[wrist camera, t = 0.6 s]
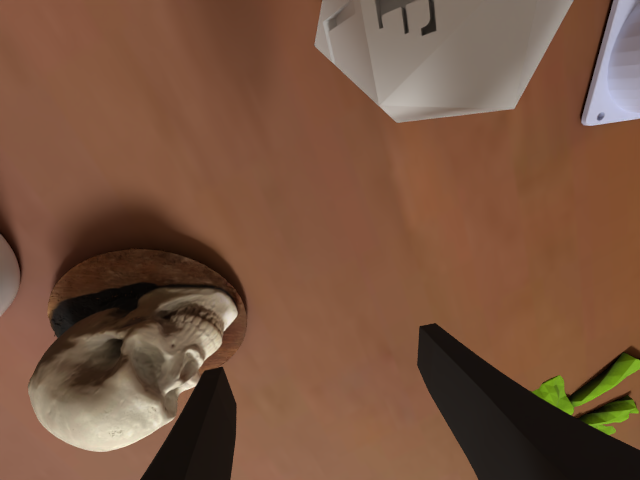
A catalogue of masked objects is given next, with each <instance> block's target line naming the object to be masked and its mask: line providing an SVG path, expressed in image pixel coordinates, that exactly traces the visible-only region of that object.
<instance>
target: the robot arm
mask: <svg viewBox="0 0 640 480" xmlns="http://www.w3.org/2000/svg"><path fill="white" fill-rule="evenodd" d="M597 116H598V117H597ZM633 119H640V0H613V4H612V7H611V11H610V15H609V18H608V22H607V26H606V30H605V33H604V37H603V41H602V44H601V48H600V52H599V56H598V59H597V63H596V67H595V70H594V74H593V78H592V82H591V85H590V89H589V93H588V97H587V100H586V104H585V108H584V111H583V115H582V120H581V121H582V124H583V125H589V126H592V125H599V124H606V123H612V122H619V121H626V120H633ZM417 366H418V368H419V370H420V373H421V375H422V377H423V380H424V382H425V384H426V386H427V388H428V391H429V393H430V394H431V396H432V398H433V400H434V401H435V403H436V405H437V407H438V408H439V410H440V412H441V414H442V415H443V417H444V419H445V420H446V422H447V424H448V426H449V427H450V429H451V431H452V432H453V434H454V436H455V438H456V439H457V441H458V443H459V444H460V446H461V448H462V450H463V451H464V453H465V455H466V456H467V458H468V460H469V462H470V464H471V466H472V468H473V469H474V471H475V473H476V475H477V477H478V480H640V450H638V449H636V448H634V447H632V446H630V445H628V444H626V443H624V442H622V441H620V440H618V439H615V438H613V437H611V436H609V435H608V434H606V433H604V432H602V431H600V430H598V429H596V428H594V427H592V426H590V425H588V424H586V423H584V422H582V421H580V420H579V419H577V418H575V417H573V416H571V415H569V414H568V413H566V412H564V411H562V410H561V409H559V408H557V407H555V406H554V405H552V404H550V403H549V402H547V401H545V400H544V399H542V398H540V397H538V396H537V395H535V394H534V393H532V392H530V391H529V390H527V389H526V388H524V387H522V386H521V385H519V384H518V383H516V382H515V381H513V380H512V379H510V378H509V377H507V376H506V375H504V374H503V373H501V372H500V371H499V370H497V369H496V368H494V367H493V366H492V365H490V364H489V363H487V362H486V361H485V360H483V359H482V358H480V357H479V356H478V355H476V354H475V353H474V352H472V351H471V350H470V349H468V348H467V347H466V346H464V345H463V344H462V343H460V342H459V341H458V340H456V339H455V338H454V337H453V336H451V335H450V334H449V333H447V332H446V331H445V330H443V329H442V328H441V327H440V326H438V325H437V324H436V323H434V324H429V325H424V326H420V328H419V345H418V361H417ZM235 438H236V402H235V399H234V396H233V394H232V391H231V388H230V385H229V383H228V380H227V377H226V374H225V372H224V369H223V367H219V368H214V369H209V370H205V371H204V372H203V373H202V375H201V377H200V379H199V381H198V383H197V385H196V387H195V389H194V391H193V392H192V394H191V396H190V398H189V400H188V402H187V404H186V405H185V407H184V409H183V411H182V413H181V414H180V416H179V418H178V420H177V421H176V423H175V425H174V426H173V428H172V430H171V432H170V433H169V435H168V437H167V438H166V440H165V442H164V443H163V445H162V447H161V448H160V450H159V451H158V453H157V454H156V456H155V458H154V459H153V461H152V462H151V464H150V465H149V467H148V469H147V470H146V472H145V473H144V475H143V476H142V478H141V479H140V480H230V478H231V470H232V463H233V455H234V447H235Z"/></svg>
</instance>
